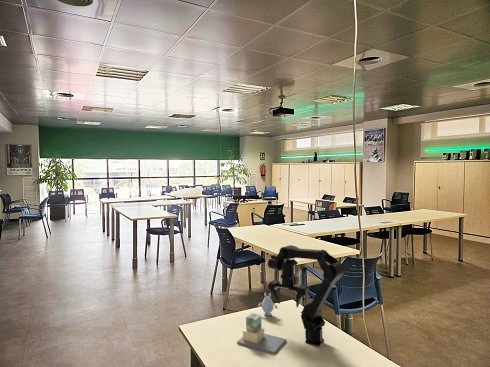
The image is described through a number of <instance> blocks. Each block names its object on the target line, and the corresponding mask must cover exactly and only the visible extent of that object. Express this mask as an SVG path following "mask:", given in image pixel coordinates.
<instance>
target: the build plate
mask: <svg viewBox="0 0 490 367" xmlns="http://www.w3.org/2000/svg"><path fill="white" fill-rule="evenodd" d="M286 342H287V338H284V337H279V336H276V335H271V334H268V333H265V328H264V327H262V326H261V329H260V330H259V331H258V332H257V333H254V332H251V331H247V330H246V328H244V329H243V330H242V337H240V339H238V340H237V344H238V345H240V346H244V347H248V348H251V349H255V350H258V351H261V352H266V353H268V354H272V355H275V354H276V353H277V352H278V351H279V350H280V349H281V348H282V347H283V346H284V345H285V343H286ZM237 344H236V345H237Z"/></svg>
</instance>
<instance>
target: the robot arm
mask: <svg viewBox="0 0 490 367" xmlns="http://www.w3.org/2000/svg"><path fill="white" fill-rule="evenodd" d="M296 259H307V260H315V261H317V262H318V265H319V267H320V269H321V270H322V272H323V273H322V274H323V275H322V276H323V277H322V278H323V279H322V282H321V284H320V286H319V287H318V290H317V291H316V294H315V295H314V297H313V299H312V301H311V302H309V303H308V304H305V305H304V306H303V308H302V311H300V318H301V322H302V325H303V328H304V330H305V331H304V332H305V333H304V334H305V338H304V339H305V341H304V342H305V343H306V344H310V345H313V346H319V347H320V346H321V344H322V343H323V341H324V339H325V338H324V337H323V327H325V324H326V321H325V320H324V318H323V317H322V307H323V305H324V303H325V301H326V299H327V298H328V297H329V294H330V292H331V291H332V289H333V286H334V285H335V284H336V283H337V282H339V280H340V279H341V278H342V276H343V275H344V274H345V272H346V270H345V266H344V264H342V263H341V262H340V261H339V260H338V259H337V258H335V257H334V256H333V255H331V254H330V253H329V252H328V251H327V250H326V249H311V248H308V249H307V248H299V247H298V246H296V245H287V246H285V245H284V246H282V247H280V249H279V252H278V253H277V255H276V254H271V255H270V257H269V259H268V261H267V266H268V268H269V269H271V270H275V271H281V274H280V278H281V281H280V280H275V279H273V280H271V281H270V282H268V283H267V289H268V290H270V292H272V294H273V295H274V297H275V299H276V302H277V303H278V304H277V305H280V304H281V289H283V290H290V291H295V292H296V294H295V306H296V308H299V306H300V302H301V300H302V297H303V296H306V295H308V293H309V292H310V287H309V286H308V285H304V284H299V281H300V280H299V278H300V277H298V276H296V273H295V266H296V265H299V263H298V261H296ZM297 284H298V285H299V286H297Z"/></svg>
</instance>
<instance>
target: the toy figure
mask: <svg viewBox="0 0 490 367" xmlns="http://www.w3.org/2000/svg"><path fill="white" fill-rule="evenodd" d="M263 296H264V298H263V300H262V302H259V303H258V305H257V307H258V308H261V309H262V311H263V312H264V313H263V315H264V316H269V317H270V316H272V312H273V310H274V309H276V310H277V309H278V306H277V305H278V304H275V303H274V302H273V299H272V298H271V297H272V293H271V292H269V293H268V295H267V293H266V292H264V293H263Z"/></svg>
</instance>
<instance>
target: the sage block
mask: <svg viewBox="0 0 490 367" xmlns="http://www.w3.org/2000/svg"><path fill="white" fill-rule="evenodd" d="M261 327H262V315H261V314H258V313H253V312H251V313H250V314H248V315H247V316H246V317H245V329H246V330H247V331H251V332H254V333H257V332H258V331H259V330H260V329H261Z"/></svg>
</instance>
